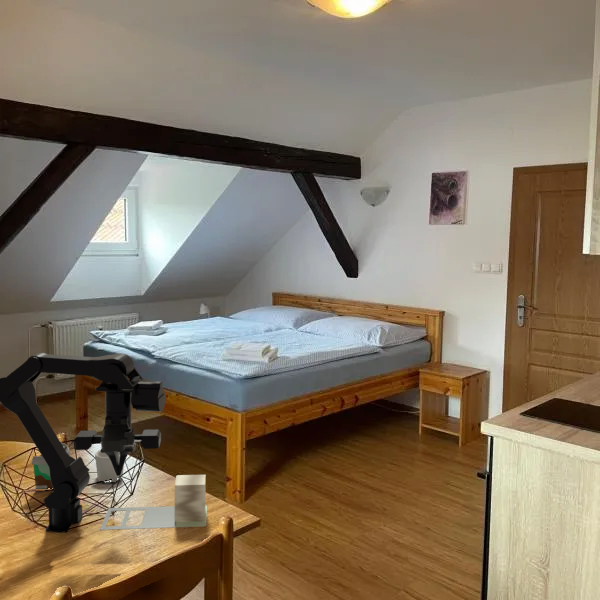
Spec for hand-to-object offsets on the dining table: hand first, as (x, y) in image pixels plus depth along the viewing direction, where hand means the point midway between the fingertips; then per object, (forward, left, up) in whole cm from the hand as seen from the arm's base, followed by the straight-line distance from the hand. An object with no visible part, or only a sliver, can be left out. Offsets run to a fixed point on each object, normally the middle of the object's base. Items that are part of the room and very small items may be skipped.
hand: (118, 475), depth 141 cm
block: (+16, +5, -12) cm, 20 cm away
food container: (-25, +22, -13) cm, 36 cm away
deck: (+8, +4, -13) cm, 16 cm away
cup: (-13, +28, -13) cm, 34 cm away
